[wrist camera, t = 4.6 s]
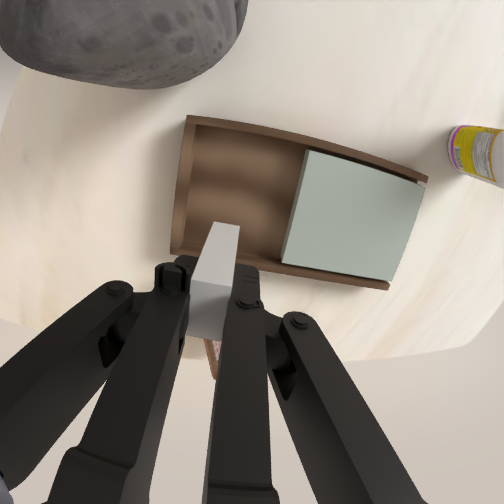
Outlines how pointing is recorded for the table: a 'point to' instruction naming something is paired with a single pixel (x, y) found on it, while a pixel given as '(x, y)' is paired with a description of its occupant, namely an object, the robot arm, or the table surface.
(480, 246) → the table surface
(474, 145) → the supplement bottle
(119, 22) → the vase
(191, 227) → the walnut case
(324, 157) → the cover plate
